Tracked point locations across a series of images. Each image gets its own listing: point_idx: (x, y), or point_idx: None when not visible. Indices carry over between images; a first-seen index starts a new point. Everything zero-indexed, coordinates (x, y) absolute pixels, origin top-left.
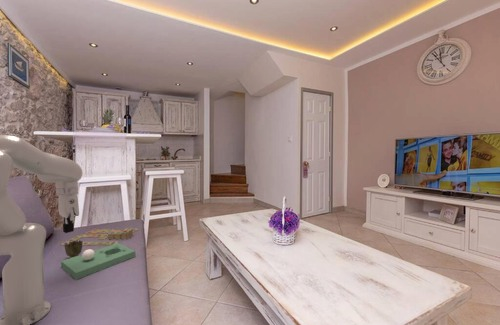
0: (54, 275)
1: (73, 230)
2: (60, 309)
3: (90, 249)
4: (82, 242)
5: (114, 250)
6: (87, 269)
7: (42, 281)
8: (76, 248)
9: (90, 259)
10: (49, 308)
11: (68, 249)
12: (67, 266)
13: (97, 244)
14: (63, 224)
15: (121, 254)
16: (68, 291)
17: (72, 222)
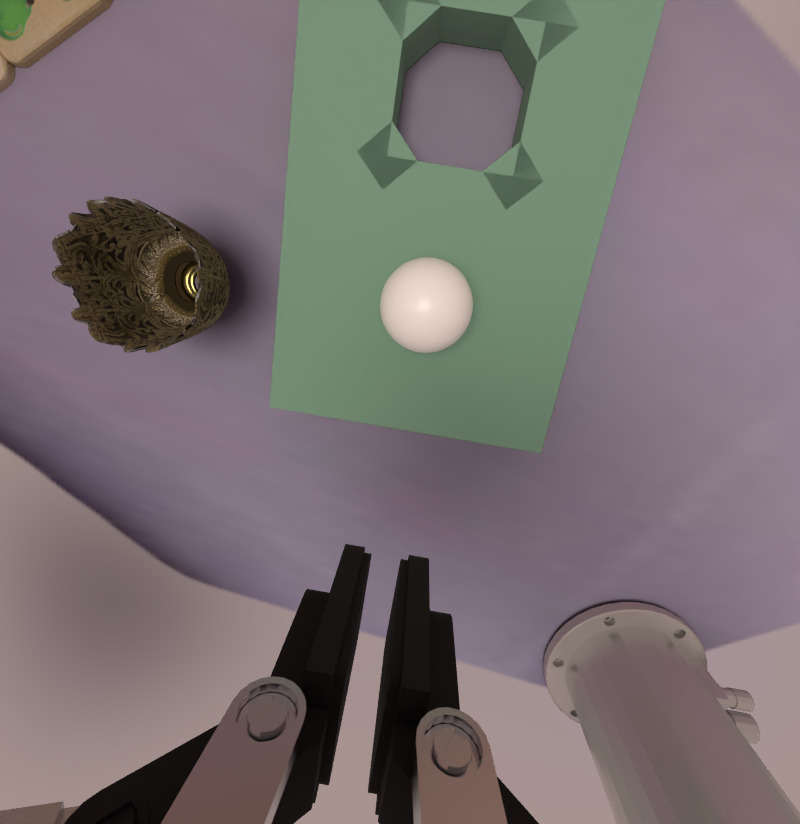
0: (361, 462)
1: (426, 562)
2: (712, 595)
3: (435, 291)
4: (166, 216)
5: (412, 45)
6: (555, 388)
7: (780, 789)
8: (212, 290)
9: None
10: (688, 628)
11: (184, 338)
12: (392, 427)
13: (81, 16)
14: (319, 780)
15: (602, 94)
16: (606, 513)
17: (484, 759)
